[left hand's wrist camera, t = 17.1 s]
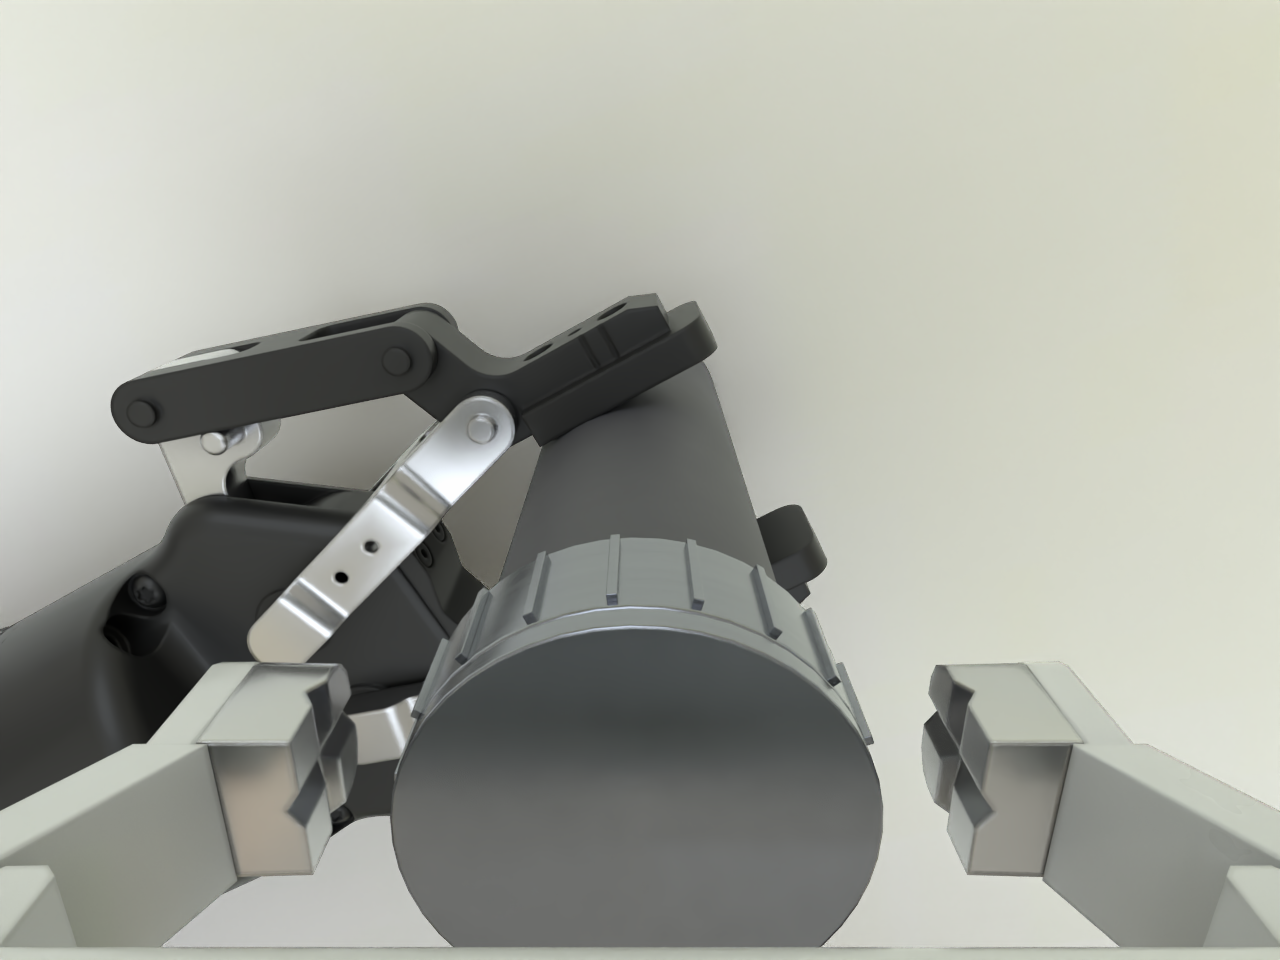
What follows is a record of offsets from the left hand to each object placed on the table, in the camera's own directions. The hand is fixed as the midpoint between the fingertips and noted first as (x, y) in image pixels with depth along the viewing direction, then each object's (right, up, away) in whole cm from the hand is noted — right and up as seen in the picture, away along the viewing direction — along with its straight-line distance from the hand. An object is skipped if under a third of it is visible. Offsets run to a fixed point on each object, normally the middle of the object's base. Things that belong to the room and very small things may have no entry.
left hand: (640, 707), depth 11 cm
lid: (0, -1, -2) cm, 2 cm away
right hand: (+2, +4, +6) cm, 8 cm away
